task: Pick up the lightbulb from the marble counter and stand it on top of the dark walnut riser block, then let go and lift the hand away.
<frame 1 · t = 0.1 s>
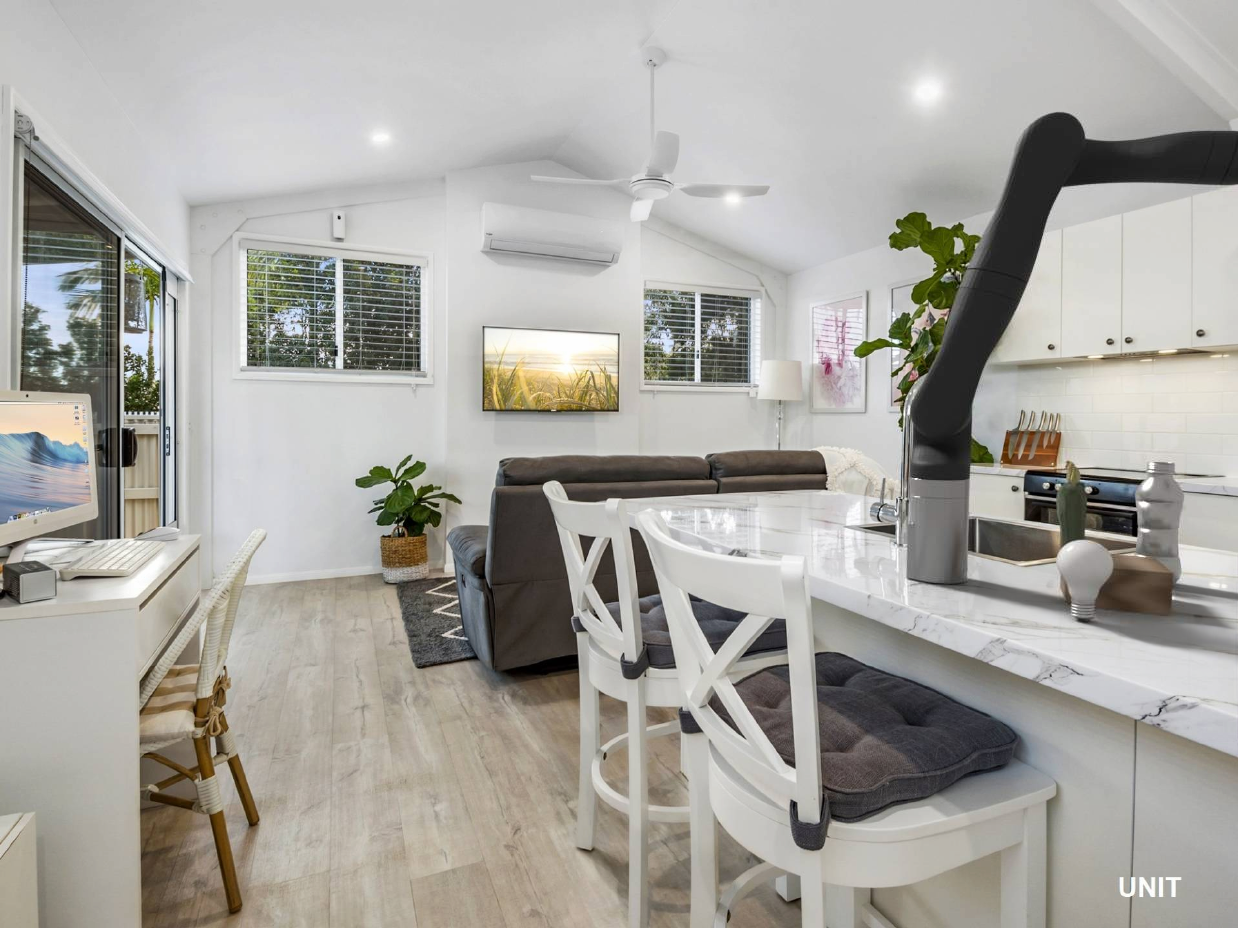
lightbulb: (1082, 621, 93), on the countertop
riser block: (1111, 600, 103), on the countertop
plastic bottle: (1155, 584, 113), on the countertop
vegetable: (1068, 577, 119), on the countertop
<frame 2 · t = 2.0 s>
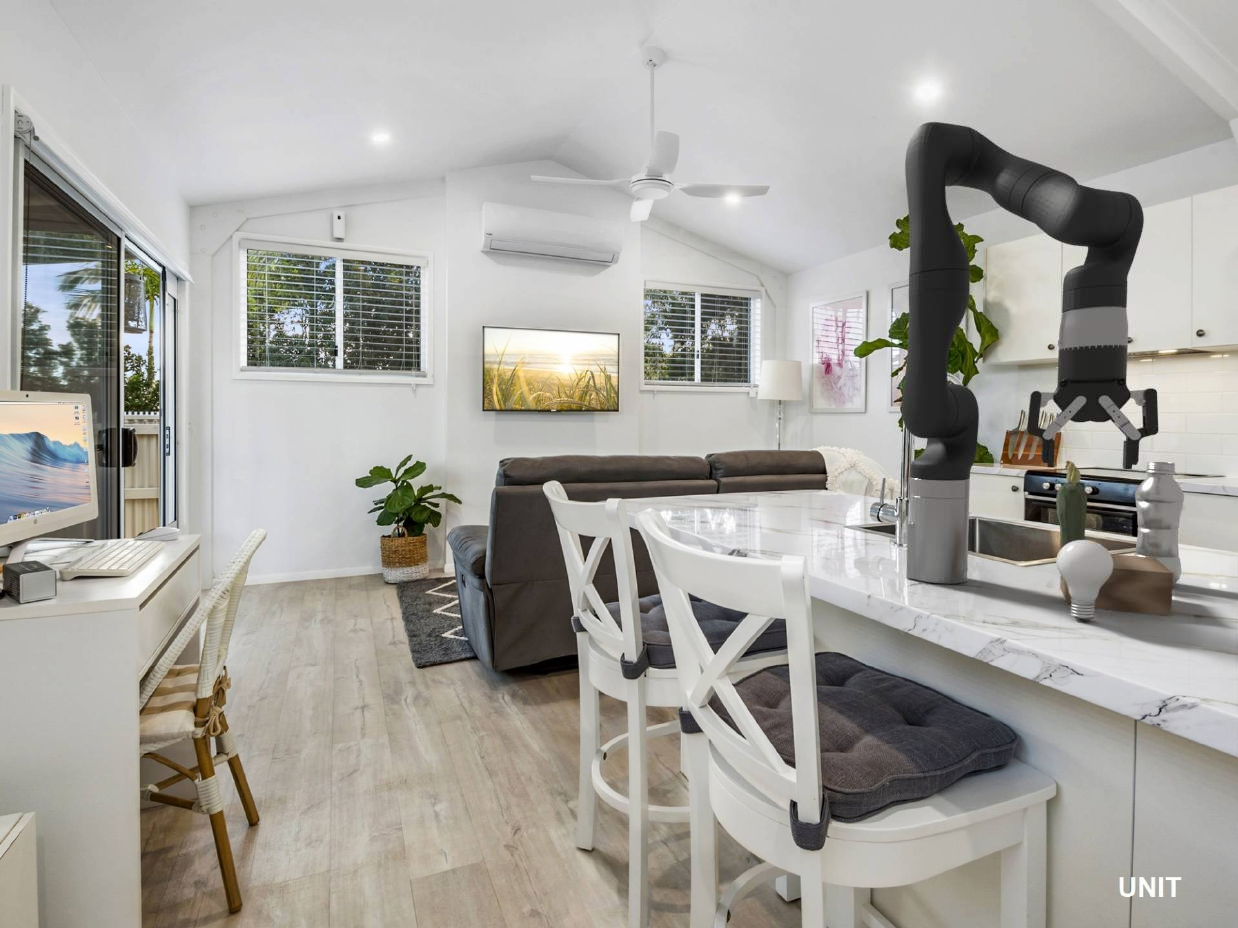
hand: (1088, 468, 91), 21 cm above the countertop, fingers open, 8 cm apart
nothing on the countertop moved.
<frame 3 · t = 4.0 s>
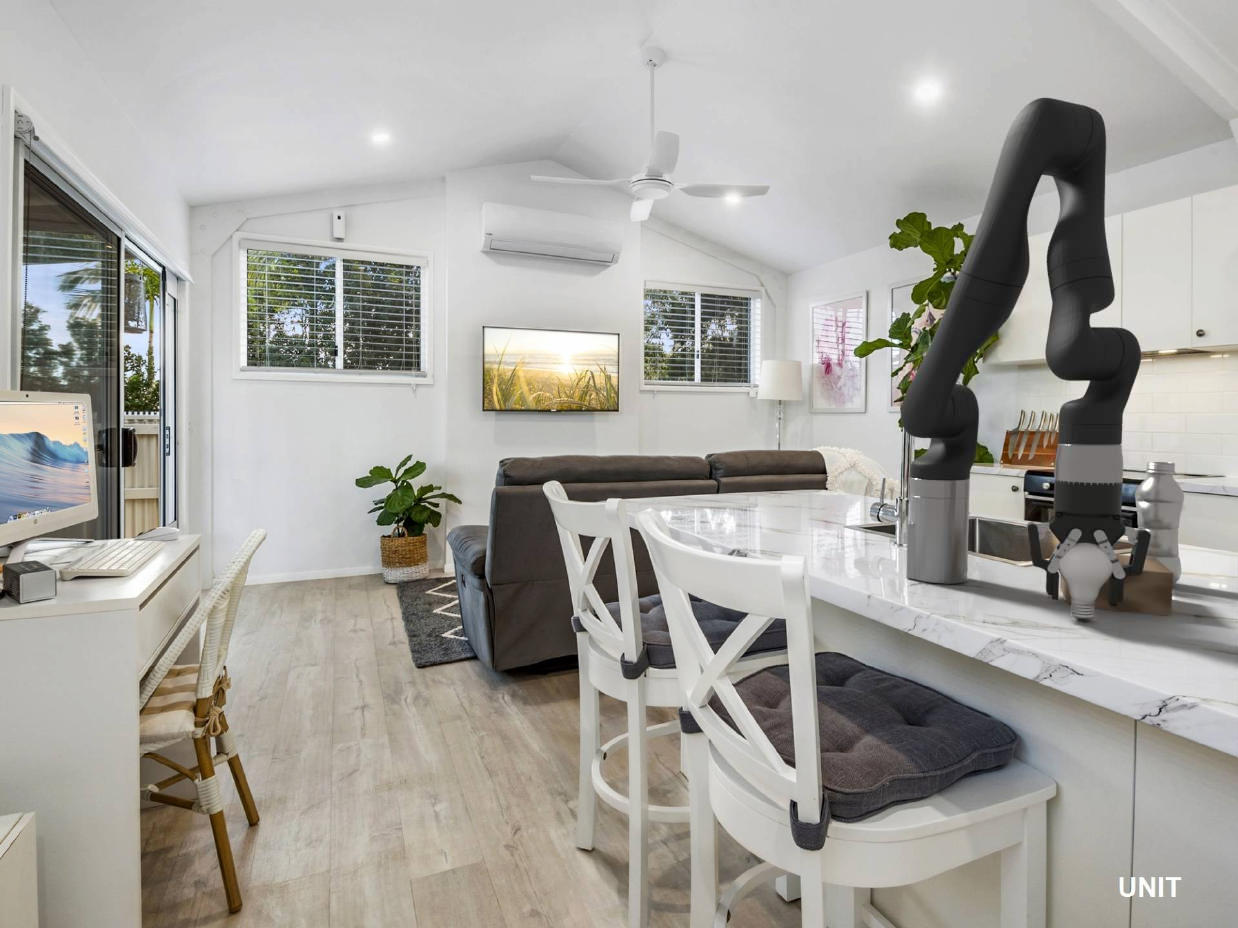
hand: (1083, 601, 92), 3 cm above the countertop, fingers closed on lightbulb, 6 cm apart
lightbulb: (1082, 621, 93), on the countertop, touching gripper
everything else where it was.
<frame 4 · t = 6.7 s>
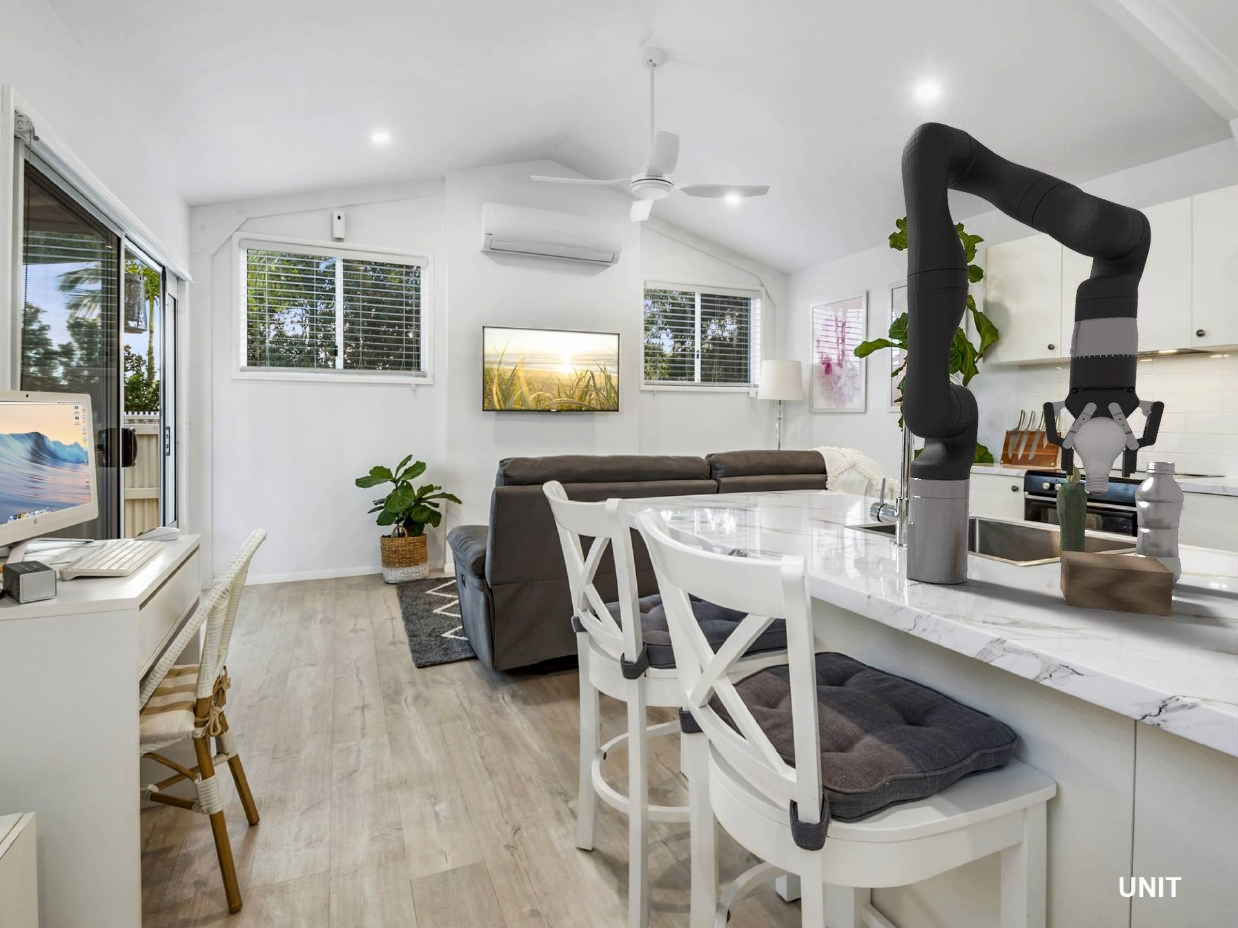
hand: (1097, 475, 95), 19 cm above the countertop, fingers closed on lightbulb, 6 cm apart
lightbulb: (1096, 495, 95), point 16 cm above the countertop, touching gripper
everything else where it was.
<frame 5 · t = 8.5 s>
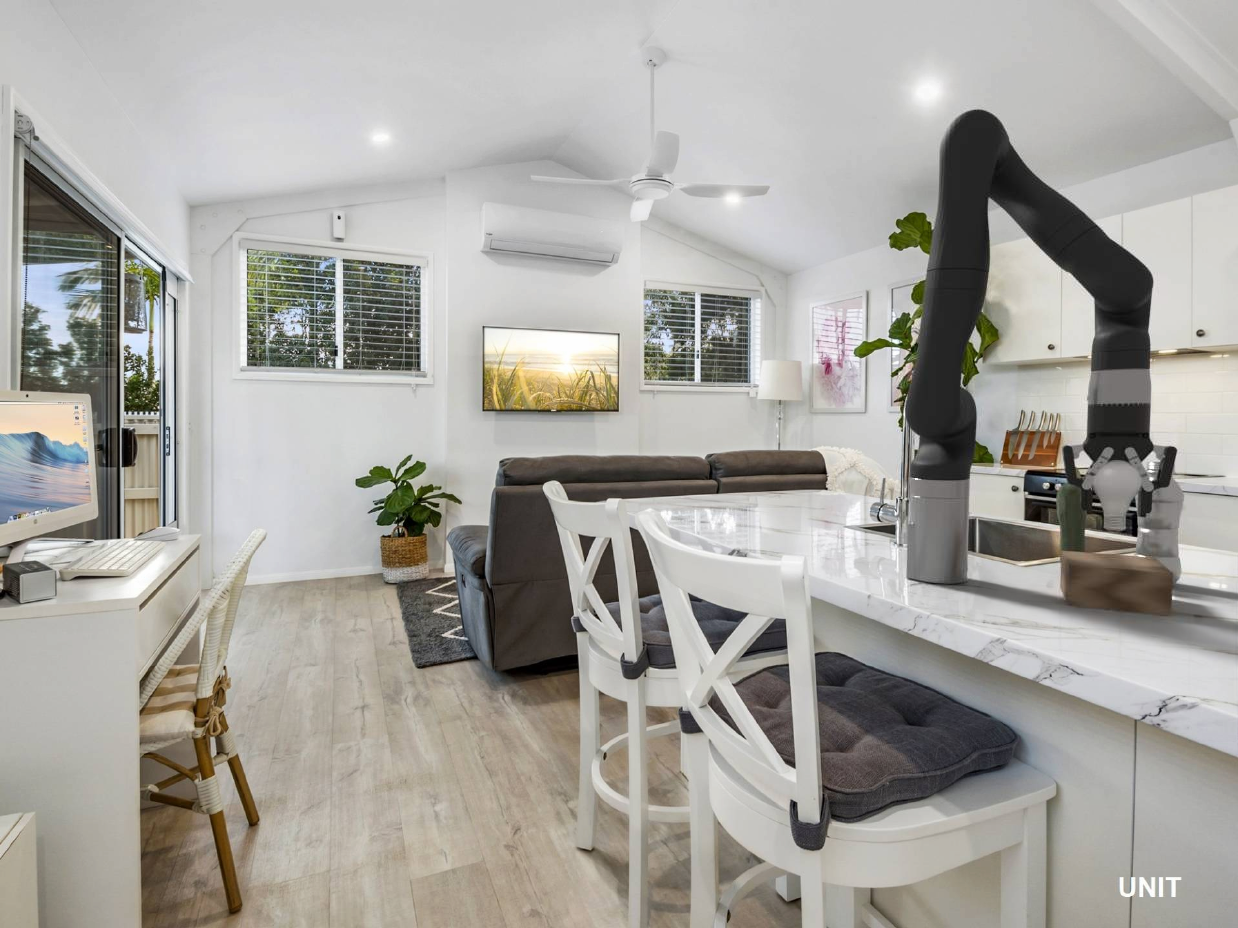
hand: (1114, 514, 102), 13 cm above the countertop, fingers closed on lightbulb, 6 cm apart
lightbulb: (1114, 533, 102), point 10 cm above the countertop, touching gripper
everything else where it was.
when the fingers open (10 cm above the countertop, at t = 9.6 s): lightbulb drops 1 cm, resting on riser block.
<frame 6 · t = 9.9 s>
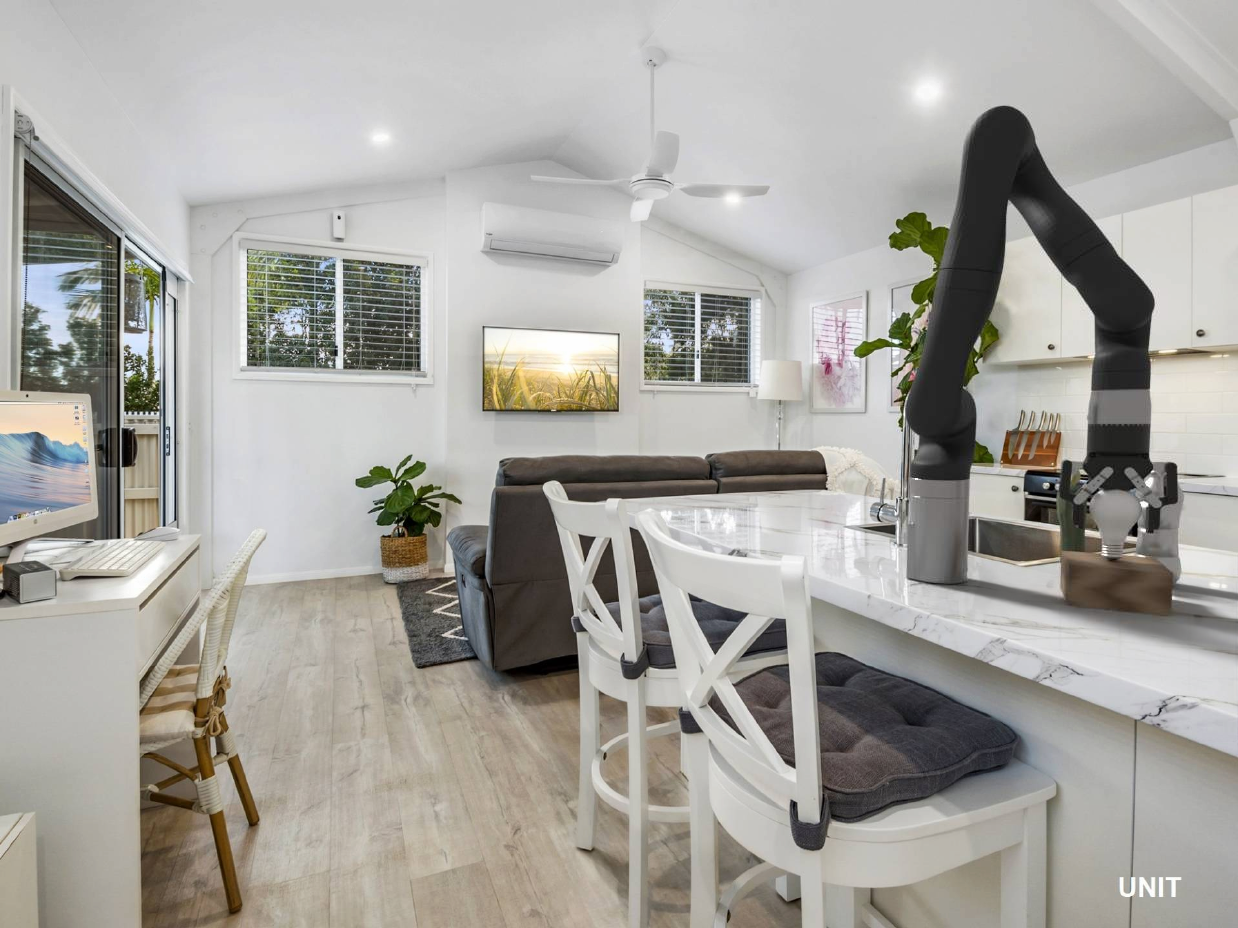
hand: (1114, 530, 102), 11 cm above the countertop, fingers open, 8 cm apart
lightbulb: (1111, 561, 102), point 6 cm above the countertop, touching riser block
everything else where it was.
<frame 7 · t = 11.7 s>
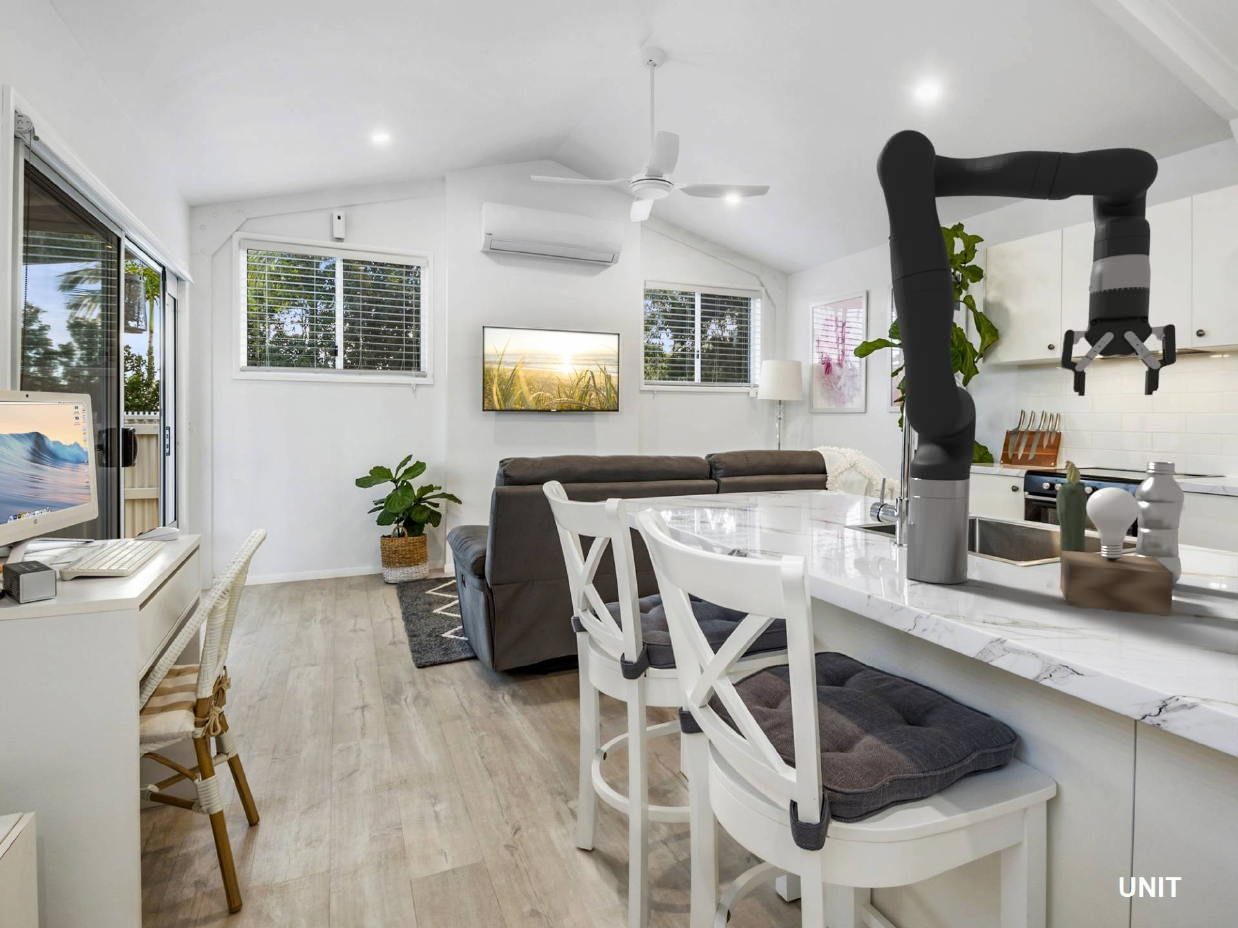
hand: (1114, 395, 106), 31 cm above the countertop, fingers open, 8 cm apart
nothing on the countertop moved.
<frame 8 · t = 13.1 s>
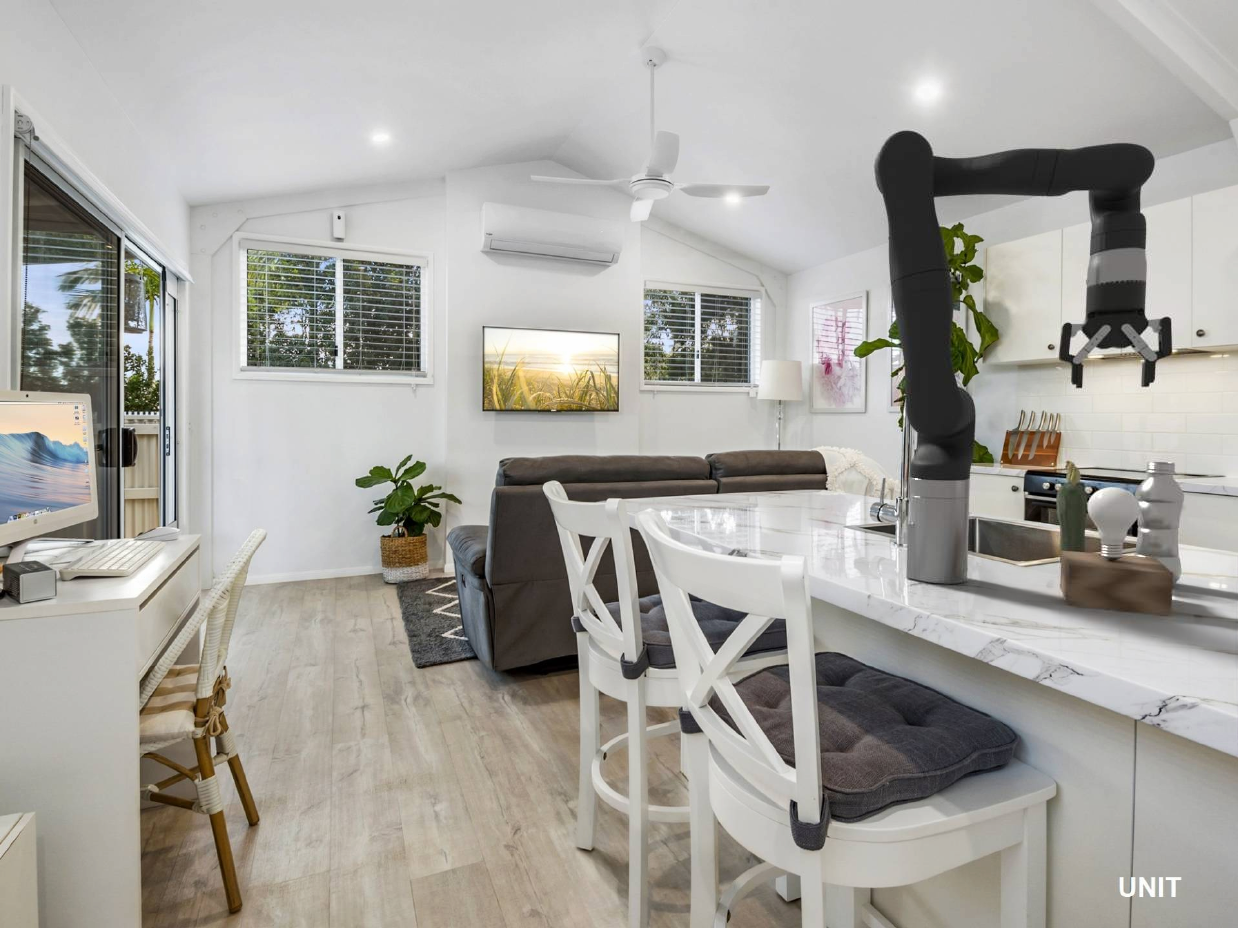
hand: (1111, 387, 107), 32 cm above the countertop, fingers open, 8 cm apart
nothing on the countertop moved.
at the end: lightbulb inside the target area on the riser block (0.2 cm from its centre), point 5.9 cm above the riser block's base; lightbulb tilted 2°; the gripper is holding nothing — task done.
